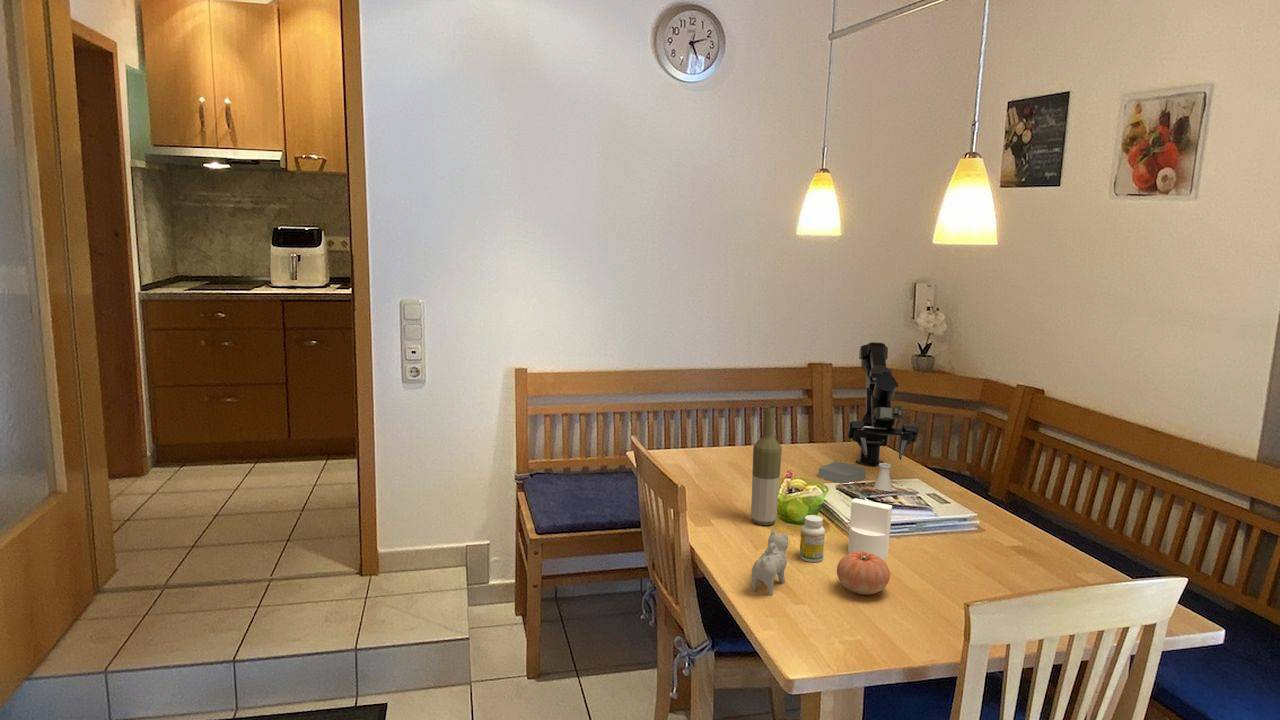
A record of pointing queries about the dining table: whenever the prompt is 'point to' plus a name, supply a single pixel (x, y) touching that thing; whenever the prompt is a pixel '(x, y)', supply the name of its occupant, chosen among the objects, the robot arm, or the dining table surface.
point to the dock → (842, 472)
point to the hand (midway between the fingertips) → (883, 457)
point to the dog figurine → (771, 562)
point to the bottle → (766, 473)
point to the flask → (883, 478)
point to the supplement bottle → (812, 539)
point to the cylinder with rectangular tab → (869, 527)
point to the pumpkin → (863, 572)
